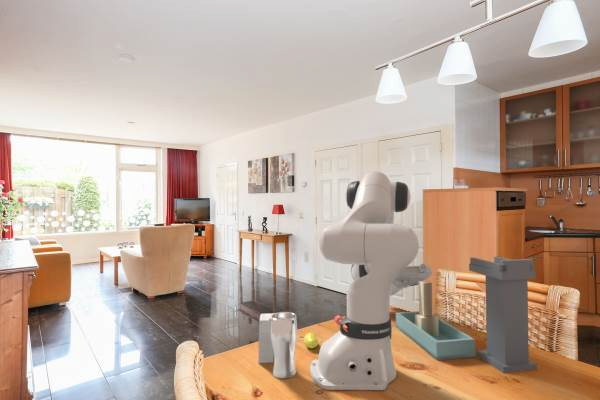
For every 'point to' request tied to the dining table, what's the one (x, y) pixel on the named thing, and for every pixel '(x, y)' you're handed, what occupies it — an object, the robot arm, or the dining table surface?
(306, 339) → the lemon
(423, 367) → the dining table surface
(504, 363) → the chute stand
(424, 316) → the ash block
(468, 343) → the teal bin
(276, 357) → the beer glass
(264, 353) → the skincare box
